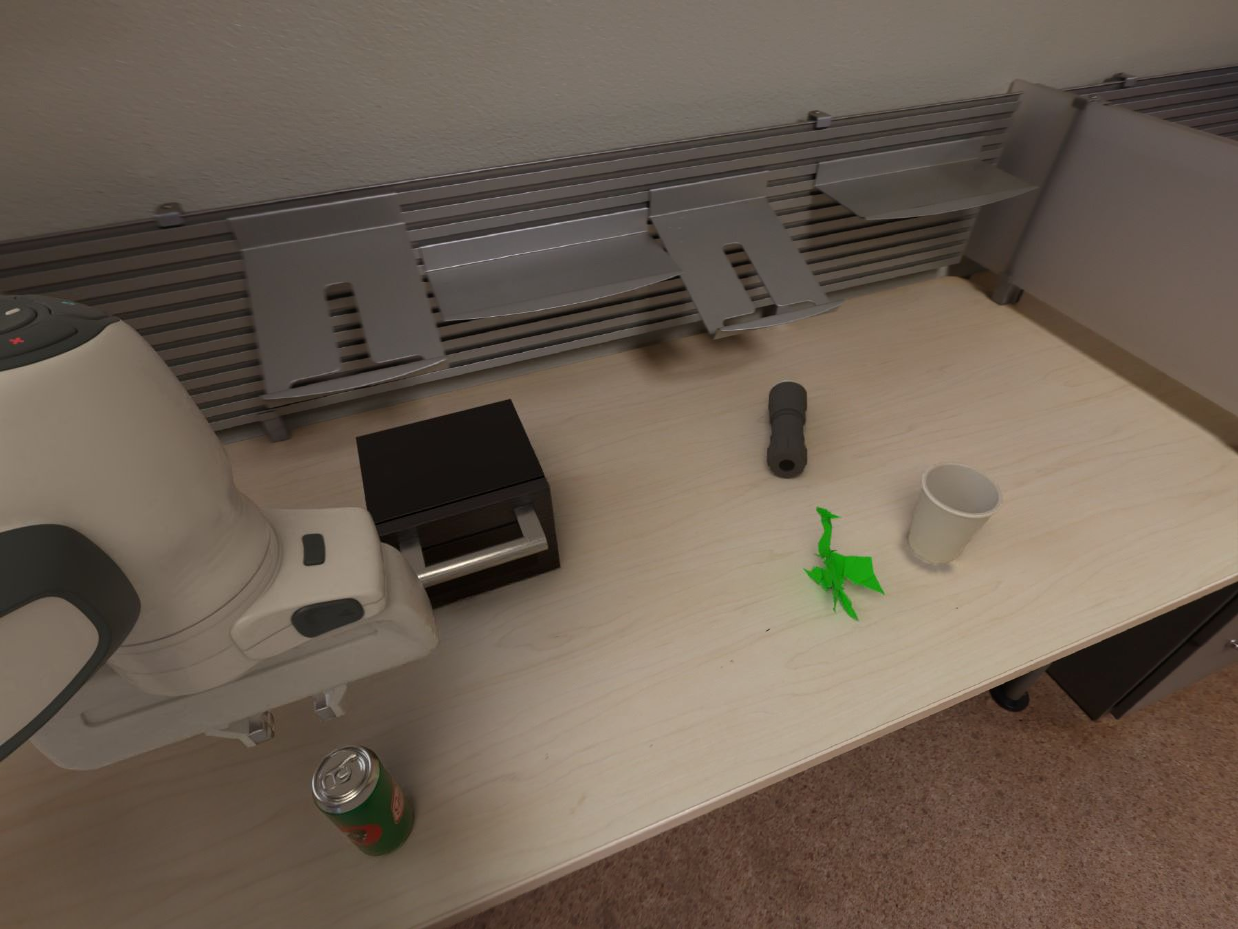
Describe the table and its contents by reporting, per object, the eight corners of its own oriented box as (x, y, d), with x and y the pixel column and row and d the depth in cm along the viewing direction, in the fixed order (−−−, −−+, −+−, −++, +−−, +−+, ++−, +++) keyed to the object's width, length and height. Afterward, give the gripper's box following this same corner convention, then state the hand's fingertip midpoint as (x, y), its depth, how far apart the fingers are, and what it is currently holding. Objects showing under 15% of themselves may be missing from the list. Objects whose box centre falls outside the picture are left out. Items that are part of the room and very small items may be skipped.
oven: (556, 557, 78) (545, 474, 68) (404, 605, 73) (369, 524, 63) (524, 480, 87) (510, 398, 77) (388, 518, 82) (355, 436, 73)
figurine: (820, 531, 79) (845, 490, 71) (876, 619, 72) (910, 584, 65) (776, 546, 77) (796, 505, 70) (828, 637, 71) (857, 603, 63)
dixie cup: (919, 578, 74) (949, 521, 67) (883, 524, 80) (907, 467, 73) (985, 565, 76) (1020, 508, 69) (944, 513, 81) (974, 456, 74)
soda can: (423, 834, 56) (386, 782, 48) (366, 872, 54) (317, 825, 46) (402, 783, 59) (364, 727, 51) (347, 818, 57) (298, 764, 49)
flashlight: (804, 483, 86) (812, 454, 82) (763, 478, 86) (769, 449, 83) (803, 410, 96) (810, 381, 93) (766, 406, 97) (771, 377, 93)
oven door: (575, 604, 72) (566, 523, 63) (414, 659, 68) (378, 581, 58) (556, 557, 77) (545, 476, 68) (404, 606, 73) (369, 526, 63)
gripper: (-74, 734, 27) (109, 837, 37) (411, 583, 33) (462, 707, 42) (-28, 615, 32) (125, 735, 41) (395, 499, 37) (444, 629, 47)
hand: (298, 720), depth 42 cm, fingers open, 3 cm apart
